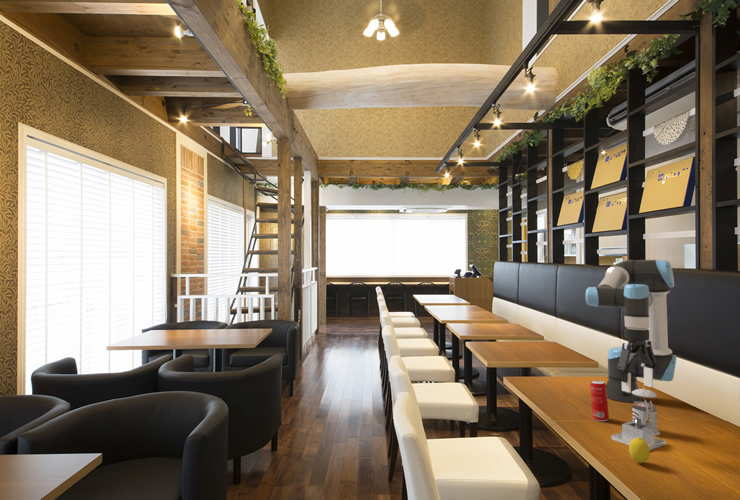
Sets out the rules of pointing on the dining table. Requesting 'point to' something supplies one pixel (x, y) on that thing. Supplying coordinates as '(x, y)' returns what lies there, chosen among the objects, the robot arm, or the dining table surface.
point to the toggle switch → (619, 438)
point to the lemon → (639, 450)
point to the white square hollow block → (637, 431)
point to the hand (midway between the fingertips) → (637, 388)
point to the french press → (645, 408)
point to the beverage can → (599, 400)
